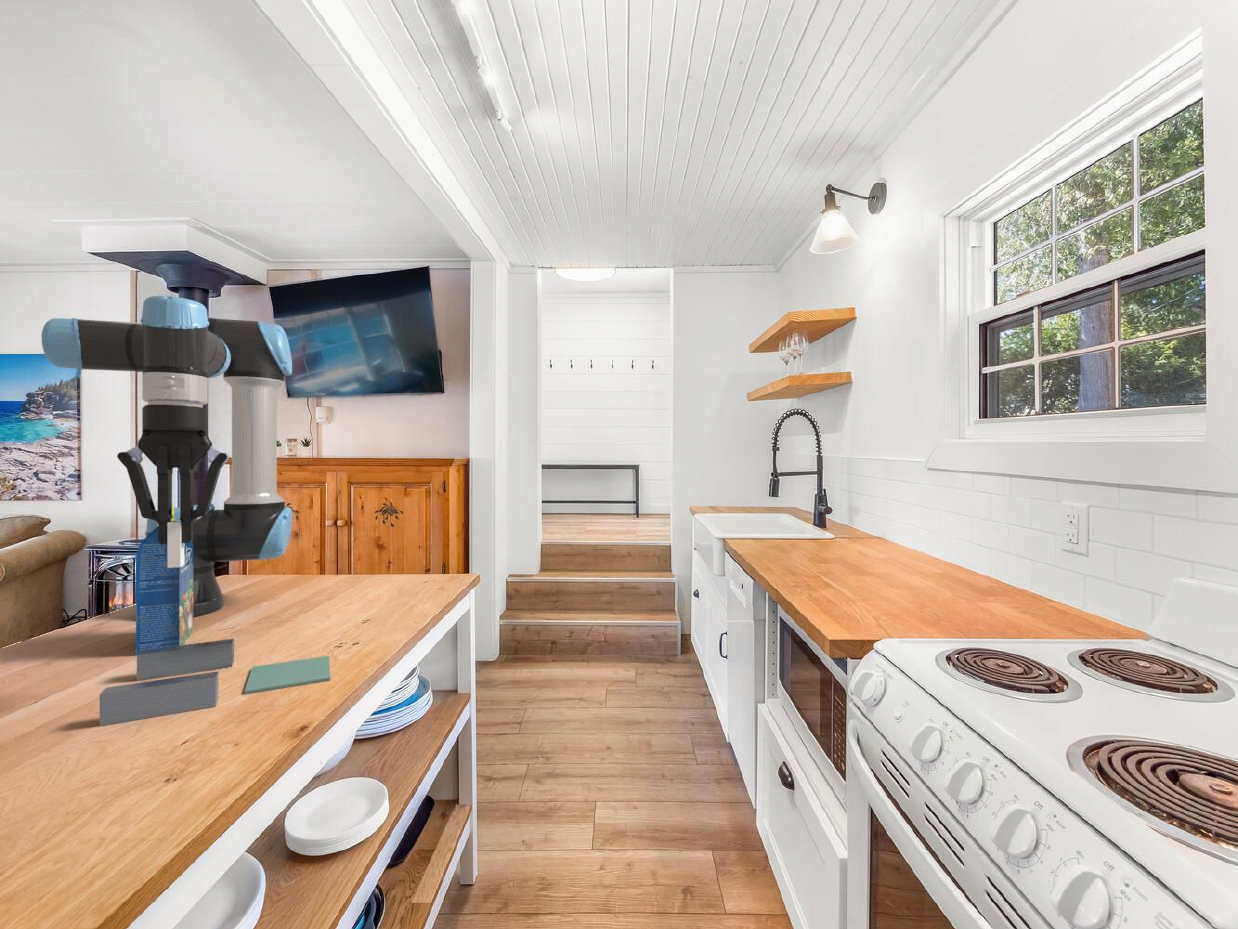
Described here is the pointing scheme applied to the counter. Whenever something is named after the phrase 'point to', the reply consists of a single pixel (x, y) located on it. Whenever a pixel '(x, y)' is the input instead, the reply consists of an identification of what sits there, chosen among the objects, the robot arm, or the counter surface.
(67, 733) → the counter surface
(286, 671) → the mat
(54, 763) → the counter surface
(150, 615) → the blue food package
